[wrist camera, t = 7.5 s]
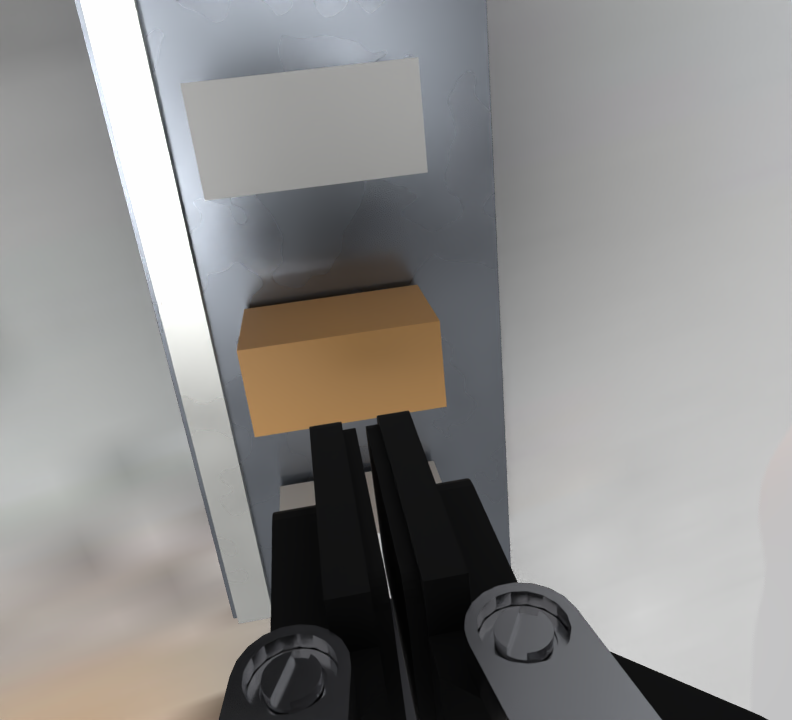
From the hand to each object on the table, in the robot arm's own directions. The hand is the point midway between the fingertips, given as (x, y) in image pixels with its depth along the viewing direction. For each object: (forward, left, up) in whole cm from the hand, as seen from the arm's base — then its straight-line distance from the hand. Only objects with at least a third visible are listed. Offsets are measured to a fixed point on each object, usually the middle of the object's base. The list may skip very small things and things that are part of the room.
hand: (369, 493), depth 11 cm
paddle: (-5, 0, -9) cm, 11 cm away
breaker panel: (+1, 0, -12) cm, 12 cm away
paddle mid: (+1, 0, -9) cm, 9 cm away
